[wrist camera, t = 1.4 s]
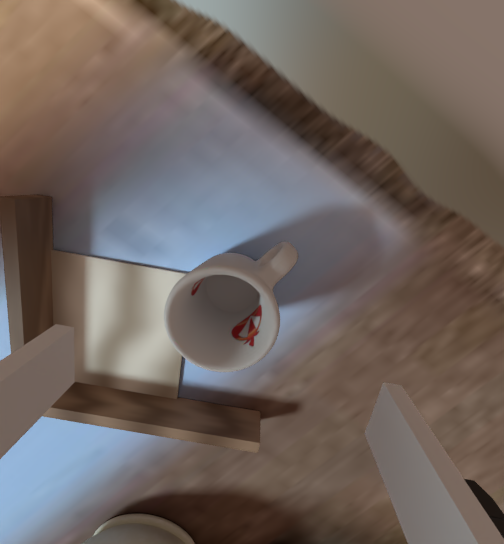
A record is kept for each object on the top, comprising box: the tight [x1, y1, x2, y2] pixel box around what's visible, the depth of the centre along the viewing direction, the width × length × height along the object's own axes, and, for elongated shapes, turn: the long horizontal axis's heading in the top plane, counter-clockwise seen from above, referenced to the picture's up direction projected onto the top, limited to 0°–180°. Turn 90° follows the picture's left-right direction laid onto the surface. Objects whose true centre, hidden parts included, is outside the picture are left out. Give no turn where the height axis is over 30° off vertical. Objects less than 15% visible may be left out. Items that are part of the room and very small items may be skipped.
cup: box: [164, 241, 298, 372], centre depth 23 cm, size 11×8×8 cm
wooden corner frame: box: [0, 195, 260, 453], centre depth 27 cm, size 23×20×4 cm
